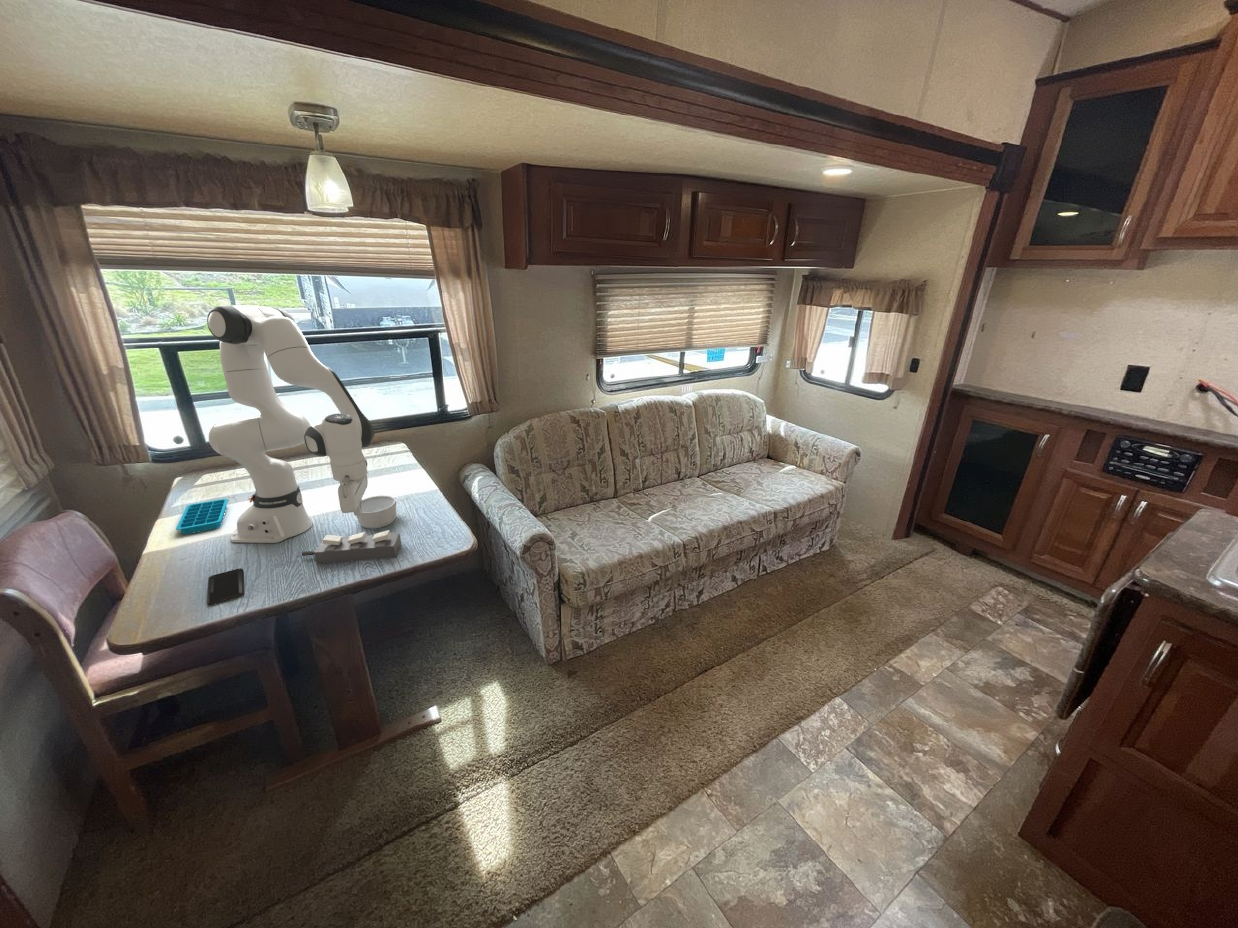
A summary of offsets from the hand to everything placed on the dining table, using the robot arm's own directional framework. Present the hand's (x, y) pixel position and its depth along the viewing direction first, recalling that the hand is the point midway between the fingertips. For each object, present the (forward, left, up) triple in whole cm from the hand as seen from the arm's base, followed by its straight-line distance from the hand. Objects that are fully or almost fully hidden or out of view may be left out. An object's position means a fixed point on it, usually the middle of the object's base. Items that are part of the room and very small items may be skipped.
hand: (358, 513), depth 144 cm
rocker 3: (+5, 0, -9) cm, 10 cm away
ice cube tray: (-60, +32, -15) cm, 69 cm away
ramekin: (-2, +21, -14) cm, 26 cm away
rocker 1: (-9, 0, -9) cm, 13 cm away
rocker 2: (-2, 0, -9) cm, 9 cm away
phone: (-33, -12, -15) cm, 38 cm away
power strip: (-4, 0, -14) cm, 15 cm away
